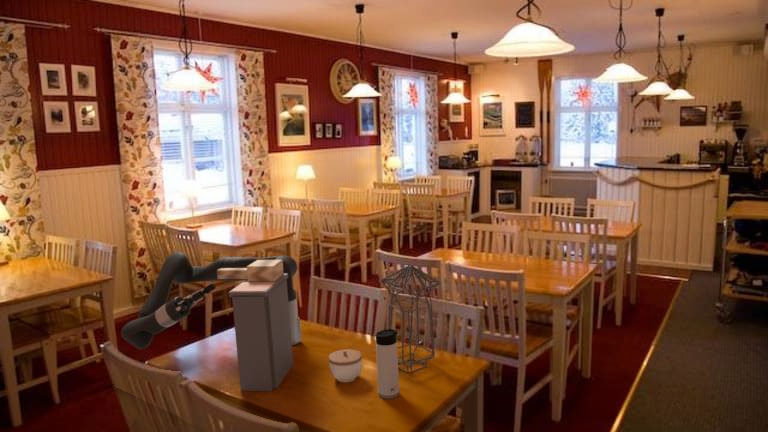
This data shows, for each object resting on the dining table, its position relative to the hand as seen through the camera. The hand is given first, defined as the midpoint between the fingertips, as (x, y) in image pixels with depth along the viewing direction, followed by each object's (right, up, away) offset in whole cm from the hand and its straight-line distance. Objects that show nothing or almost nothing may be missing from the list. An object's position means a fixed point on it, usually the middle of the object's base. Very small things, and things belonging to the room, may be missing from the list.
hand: (208, 289), depth 196 cm
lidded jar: (+47, -28, -9) cm, 56 cm away
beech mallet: (+14, +4, -2) cm, 15 cm away
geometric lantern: (+69, -26, -2) cm, 74 cm away
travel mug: (+61, -29, -21) cm, 71 cm away
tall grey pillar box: (+21, -28, -4) cm, 35 cm away
